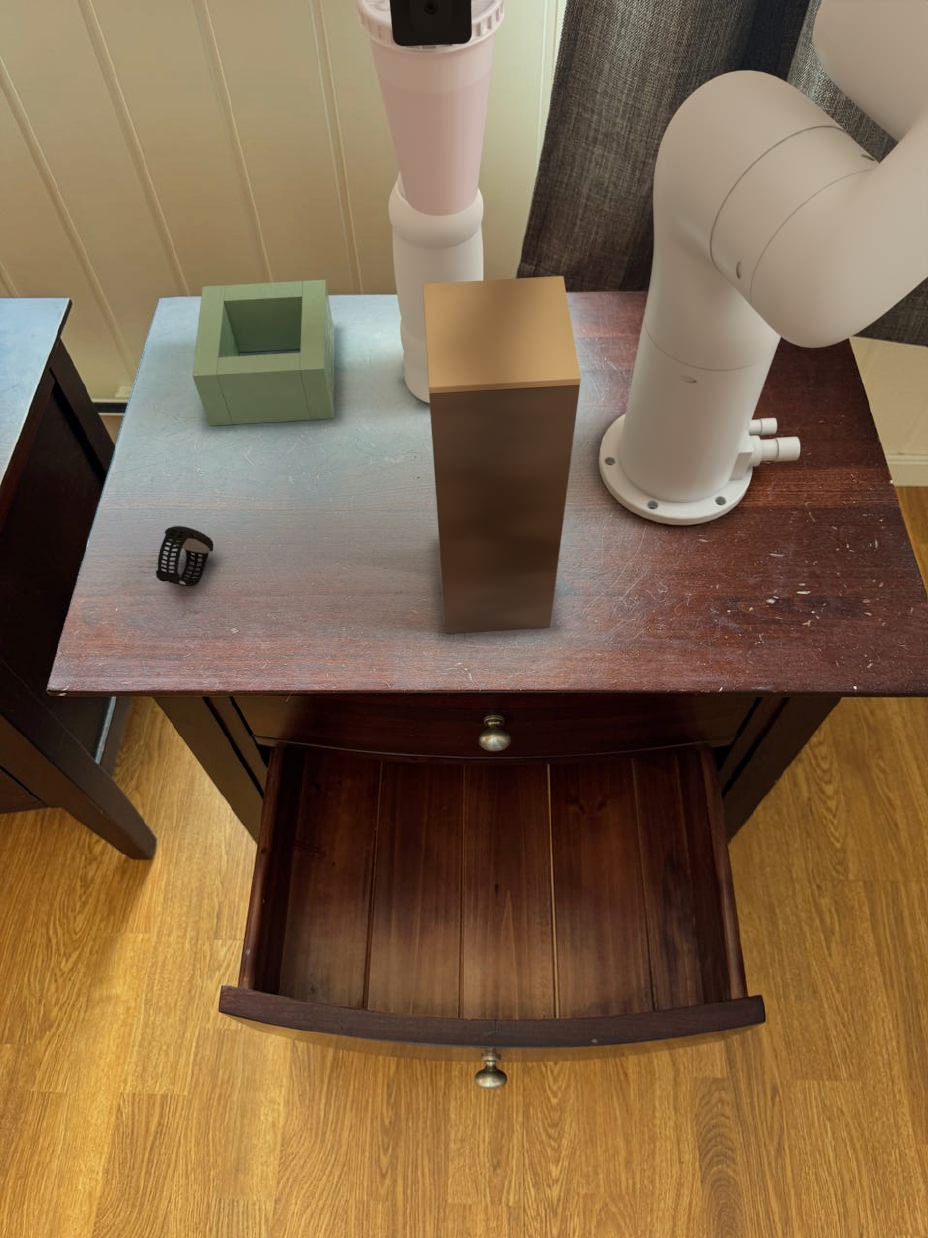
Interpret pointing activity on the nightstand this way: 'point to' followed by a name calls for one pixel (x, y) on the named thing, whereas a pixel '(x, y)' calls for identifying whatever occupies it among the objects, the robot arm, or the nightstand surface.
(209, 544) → the smartwatch
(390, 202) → the water bottle
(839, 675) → the nightstand surface
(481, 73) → the smoothie
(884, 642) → the nightstand surface
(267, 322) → the stand
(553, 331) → the riser
